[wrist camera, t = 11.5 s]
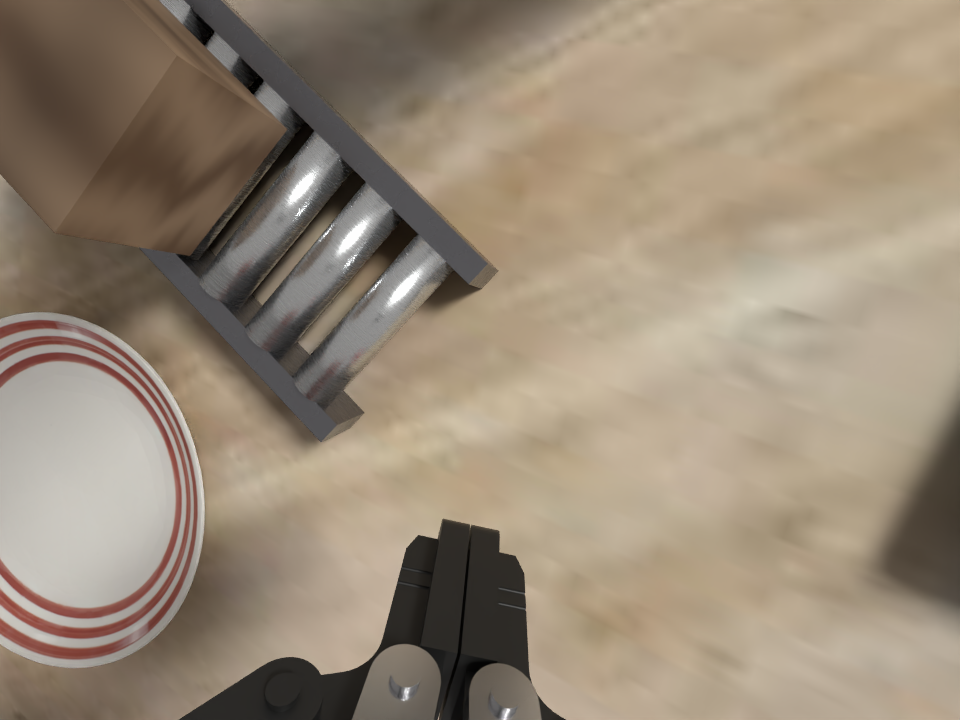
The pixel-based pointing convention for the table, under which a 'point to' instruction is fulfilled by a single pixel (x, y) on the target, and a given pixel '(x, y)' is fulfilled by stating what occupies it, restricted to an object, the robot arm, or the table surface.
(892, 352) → the table surface
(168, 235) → the brown cardboard box
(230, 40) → the roller bed
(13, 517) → the dinner plate
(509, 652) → the robot arm
